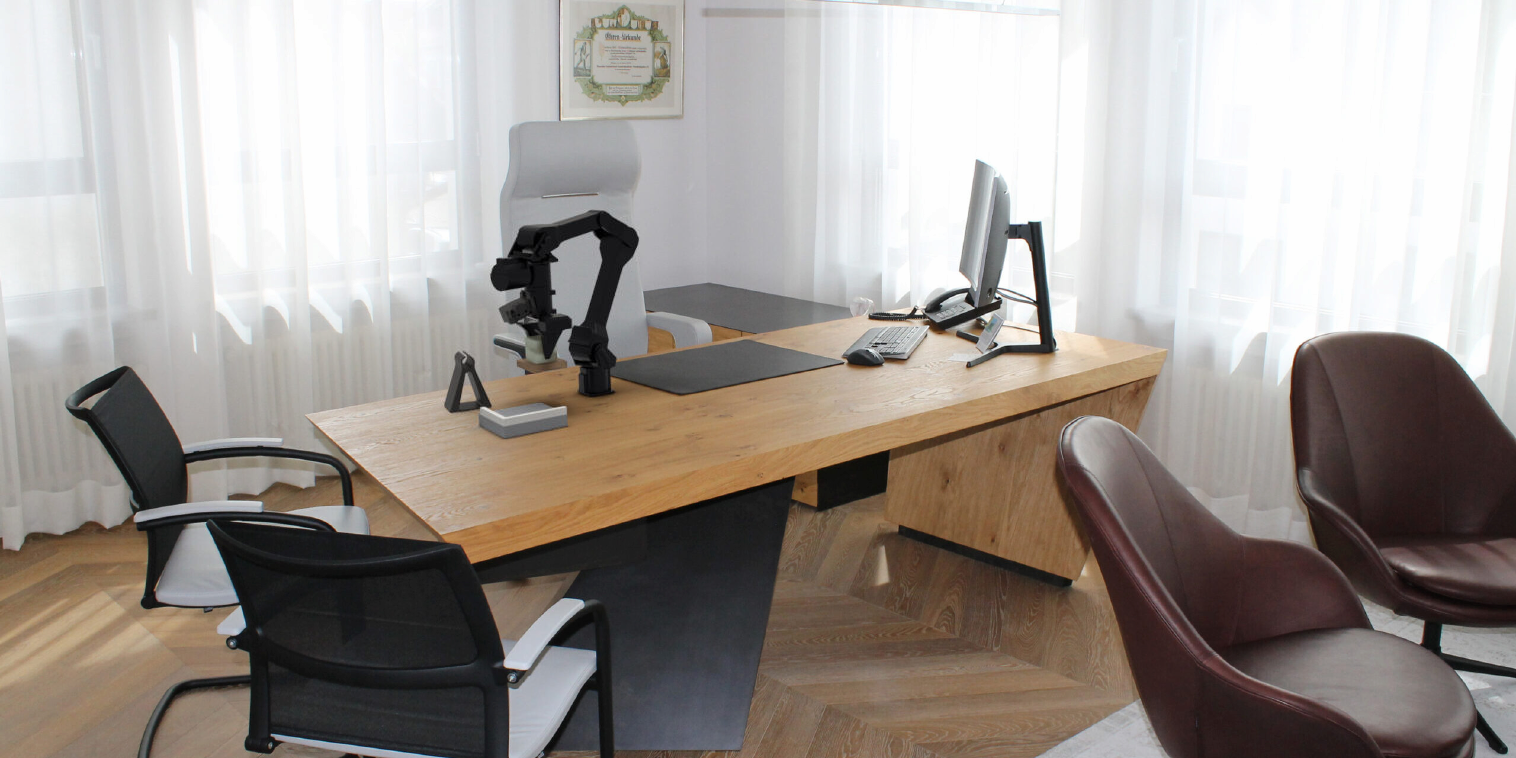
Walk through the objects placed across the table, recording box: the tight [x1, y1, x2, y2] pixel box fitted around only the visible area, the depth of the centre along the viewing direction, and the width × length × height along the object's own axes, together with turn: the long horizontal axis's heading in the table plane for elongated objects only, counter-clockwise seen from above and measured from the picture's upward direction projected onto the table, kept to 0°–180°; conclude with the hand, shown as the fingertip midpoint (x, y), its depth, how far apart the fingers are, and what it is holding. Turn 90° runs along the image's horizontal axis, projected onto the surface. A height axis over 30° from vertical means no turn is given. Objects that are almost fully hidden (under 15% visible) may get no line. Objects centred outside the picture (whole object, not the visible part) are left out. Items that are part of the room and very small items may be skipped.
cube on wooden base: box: [516, 335, 568, 374], centre depth 236 cm, size 8×8×6 cm
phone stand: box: [443, 350, 493, 414], centre depth 238 cm, size 9×6×12 cm, turn 118°
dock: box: [477, 402, 569, 439], centre depth 225 cm, size 14×12×4 cm
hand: (541, 356), depth 236 cm, fingers closed on cube on wooden base, 5 cm apart
